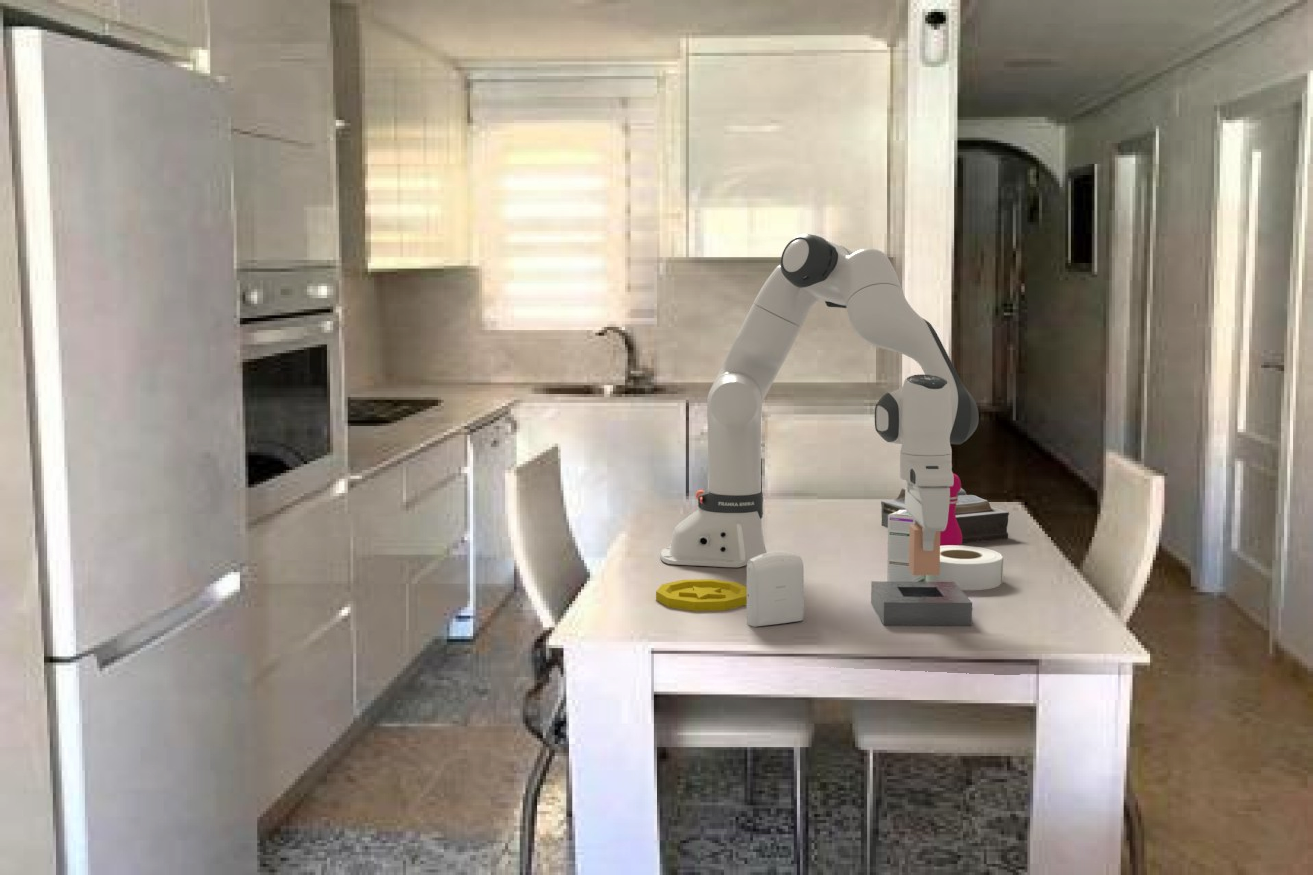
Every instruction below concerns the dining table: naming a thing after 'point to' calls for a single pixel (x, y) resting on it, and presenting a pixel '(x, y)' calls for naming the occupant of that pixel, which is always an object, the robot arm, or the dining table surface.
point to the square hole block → (921, 603)
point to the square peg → (923, 553)
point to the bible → (964, 517)
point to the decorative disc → (702, 595)
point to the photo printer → (775, 589)
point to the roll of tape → (969, 567)
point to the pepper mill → (952, 518)
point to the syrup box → (900, 548)
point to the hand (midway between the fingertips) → (924, 546)
